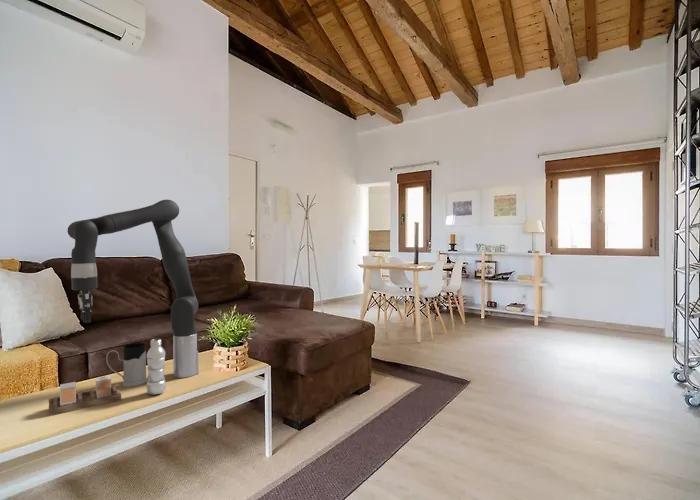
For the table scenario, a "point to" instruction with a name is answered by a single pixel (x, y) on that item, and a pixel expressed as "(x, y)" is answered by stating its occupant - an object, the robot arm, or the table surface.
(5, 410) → the table surface
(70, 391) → the wood-topped grey cube
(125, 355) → the glass holder
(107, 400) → the brown wooden rack
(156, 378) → the plastic bottle
